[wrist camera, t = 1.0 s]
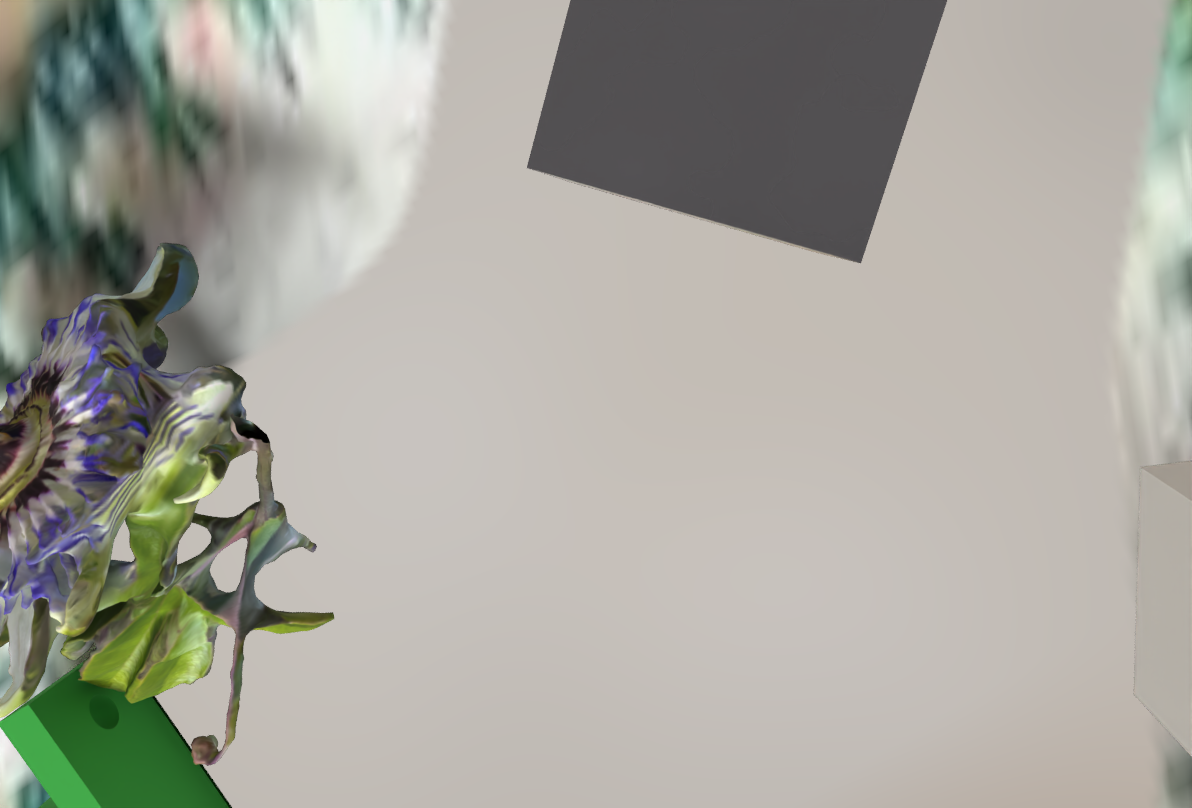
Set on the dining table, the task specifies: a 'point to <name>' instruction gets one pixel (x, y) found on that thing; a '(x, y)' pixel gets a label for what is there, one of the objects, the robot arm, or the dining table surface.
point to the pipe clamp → (107, 750)
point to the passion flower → (129, 504)
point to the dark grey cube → (739, 109)
